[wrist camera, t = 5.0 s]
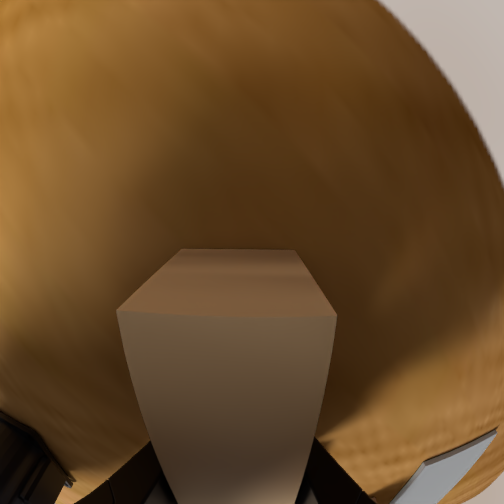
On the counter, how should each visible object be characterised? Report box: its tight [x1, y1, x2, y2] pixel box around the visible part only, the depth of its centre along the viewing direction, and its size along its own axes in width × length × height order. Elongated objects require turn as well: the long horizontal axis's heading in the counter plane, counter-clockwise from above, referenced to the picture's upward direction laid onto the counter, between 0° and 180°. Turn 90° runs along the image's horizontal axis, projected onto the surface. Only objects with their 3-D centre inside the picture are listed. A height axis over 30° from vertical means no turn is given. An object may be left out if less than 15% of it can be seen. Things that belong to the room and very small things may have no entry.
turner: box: [116, 249, 337, 504], centre depth 7 cm, size 13×6×4 cm, turn 179°
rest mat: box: [389, 430, 497, 504], centre depth 12 cm, size 7×14×1 cm, turn 178°
